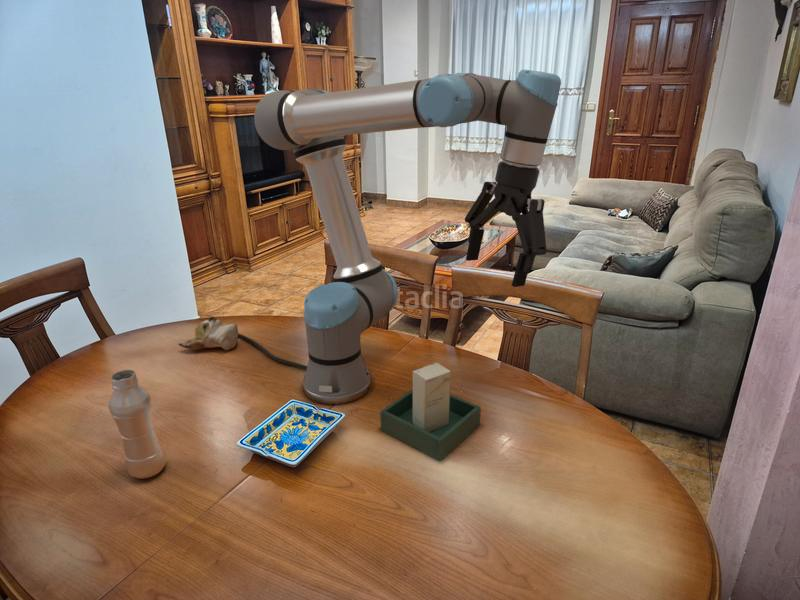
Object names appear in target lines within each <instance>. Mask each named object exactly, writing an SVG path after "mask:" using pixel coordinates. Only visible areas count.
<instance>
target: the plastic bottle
mask: <svg viewBox="0 0 800 600" xmlns="http://www.w3.org/2000/svg"><path fill="white" fill-rule="evenodd" d="M110 380H111V387H112V389H113V392H112V393H111V395H110V398H109V400H108V410H109V413H110V415H111V417H112V419H113V421H114V422H115V425H116V427H117V429H118V433H119V435H120V438H121V441H122V448H123V453H124V455H123V459H124V467H125V469H126V471H127V472H128V475H130V476H131V477H133V478H135V479H138V480H139V479H141V480H142V479H143V480H145V479H148V478H152V477H154V476H156V475H159V473H160V472H162V470H163V469H164V467H165V465H166V463H167V455H166V450H165V448H164V447H163V445H162V443H161V441H160V438H159V436H158V434H157V431H156V427H155V421H154V416H153V415H154V414H153V403H152V397H151V394H150V393H149V392H148V390H147V389H146V388H144V387H143V386H142V385H139V379H138V378H137V374H136V371H135V370H133V369H123V370H119V371H116V372H115V373H113V374H112V375H111V376H110Z"/></svg>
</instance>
